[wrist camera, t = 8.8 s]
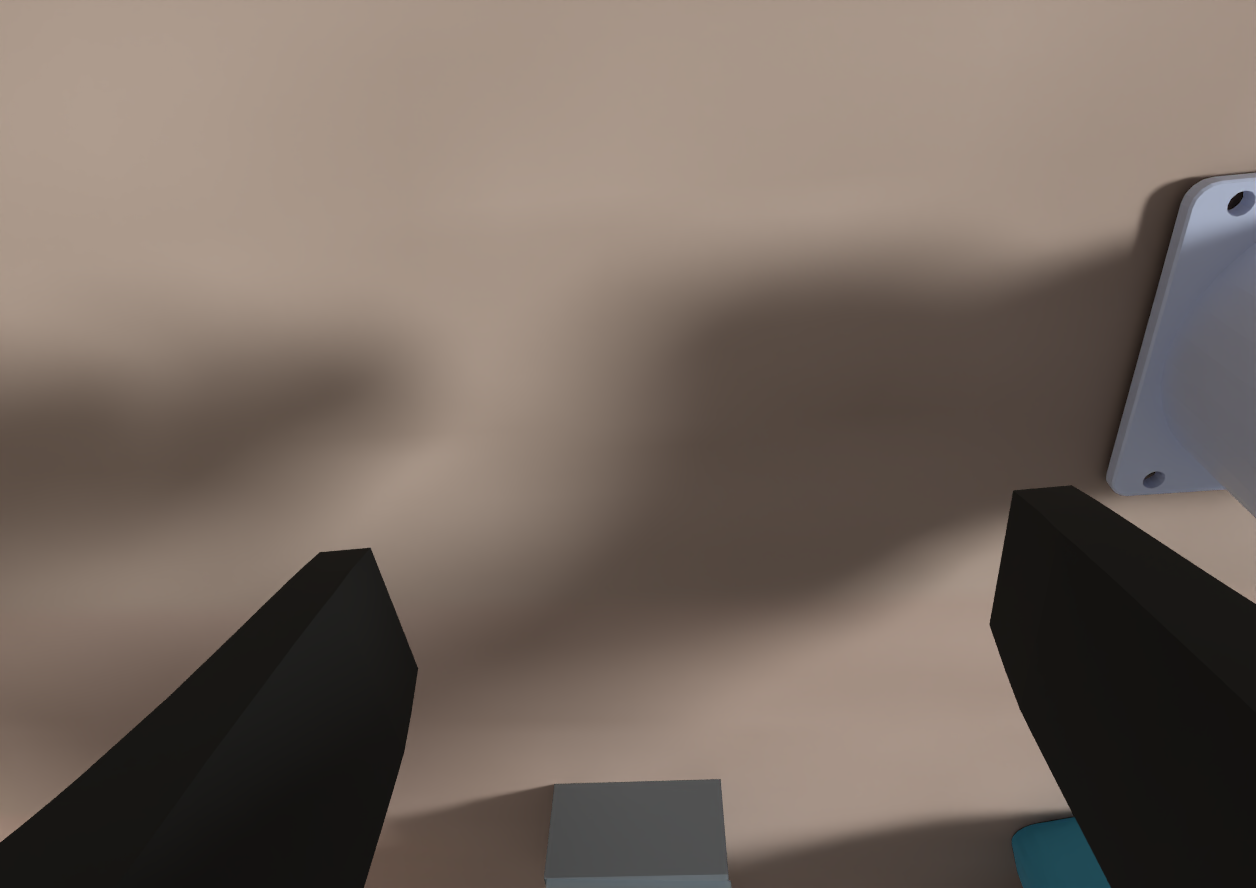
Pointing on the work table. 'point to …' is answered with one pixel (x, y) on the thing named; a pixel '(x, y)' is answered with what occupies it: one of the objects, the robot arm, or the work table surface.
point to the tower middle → (634, 884)
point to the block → (1056, 857)
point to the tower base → (637, 831)
